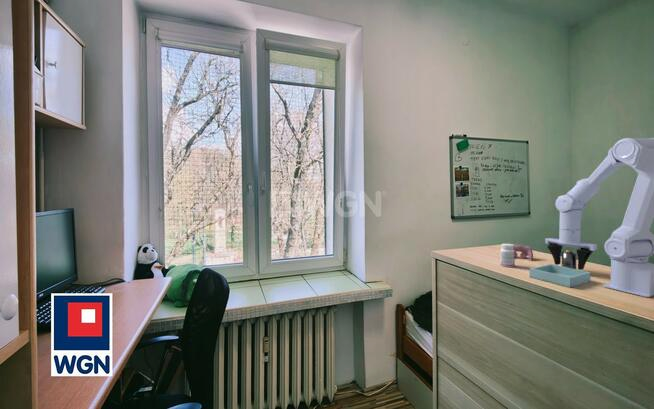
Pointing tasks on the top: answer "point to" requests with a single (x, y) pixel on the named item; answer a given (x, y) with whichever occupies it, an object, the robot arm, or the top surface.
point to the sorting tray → (560, 275)
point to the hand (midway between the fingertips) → (568, 266)
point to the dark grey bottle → (569, 259)
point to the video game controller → (523, 251)
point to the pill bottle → (507, 255)
